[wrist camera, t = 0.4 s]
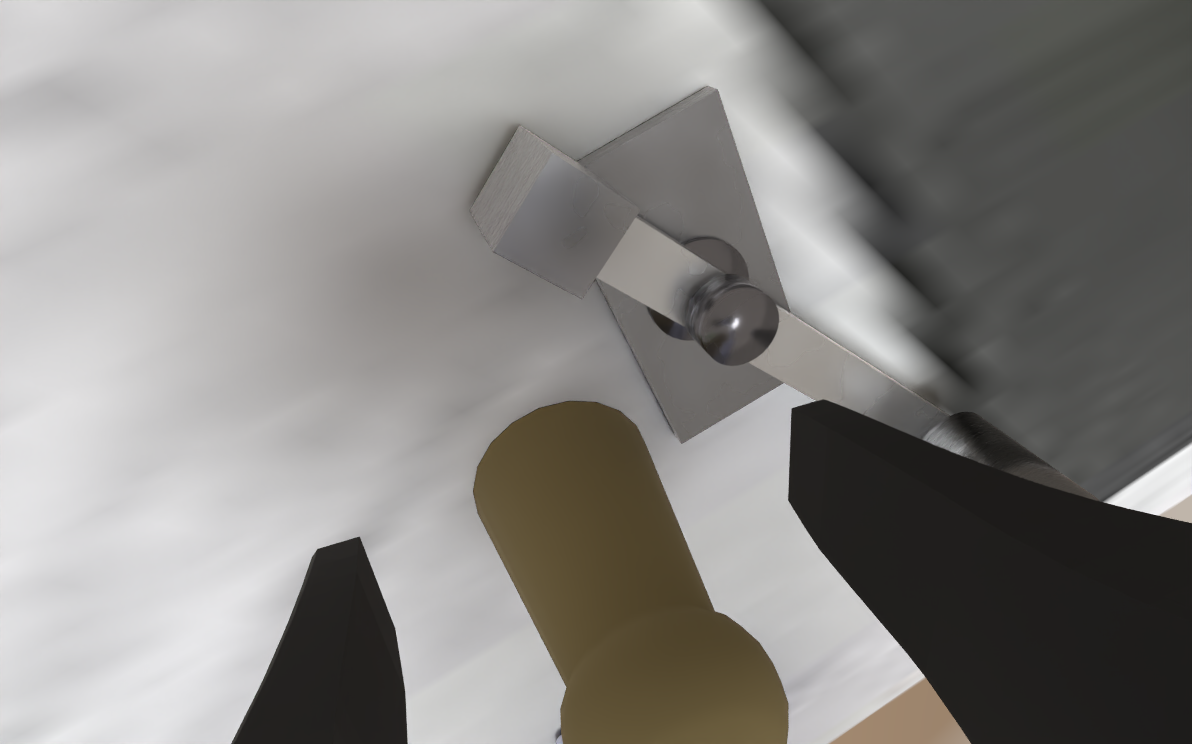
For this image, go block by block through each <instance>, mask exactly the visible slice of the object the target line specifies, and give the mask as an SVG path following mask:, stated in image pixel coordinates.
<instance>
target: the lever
mask: <svg viewBox="0 0 1192 744" xmlns="http://www.w3.org/2000/svg"><path fill="white" fill-rule="evenodd" d="M639 212H640V209H639V208H638V207H637V206H635V205H634V204H633V203H632V202H630V201H629V200H628V199H627V198H625V197H624V196H623V195H622V194H620V193H619V192H618V191H617V190H615V189H614V188H613V187H612V186H610V185H609V184H608V183H607V182H605V181H604V180H603V179H602V178H600V177H599V176H598V175H596V174H595V173H593V172H592V171H590V170H588V169H587V168H585V167H584V166H582V165H581V164H579V163H578V162H576V161H575V160H573V159H572V158H570V157H569V156H567V155H565V154H564V153H562V152H561V151H559V150H558V149H556V148H555V147H553V146H552V145H550V144H549V143H547V142H546V141H544V140H542V139H541V138H539V137H538V136H536V135H535V134H533V133H532V132H530V131H529V130H527V129H526V128H524V127H523V126H521V125H519V127H518V129H517V130H516V132H515V134H514V135H513V137H512V139H511V141H510V142H509V144H508V146H507V147H506V149H505V151H504V153H503V154H502V156H501V158H500V159H499V161H498V163H497V165H496V166H495V168H494V170H493V171H492V173H491V175H490V176H489V178H488V180H487V182H486V183H485V185H484V187H483V188H482V190H481V192H480V194H479V195H478V197H477V199H476V200H475V202H474V204H473V206H472V207H471V209H470V213H471V215H472V216H473V218H474V220H475V222H476V223H477V225H478V227H479V228H480V230H481V232H482V234H483V235H484V237H485V239H486V241H487V242H488V244H489V246H490V248H491V249H492V251H493V252H494V253H496V254H498V255H500V256H502V257H503V258H505V259H507V260H509V261H511V262H513V263H515V264H517V265H518V266H520V267H522V268H524V269H526V270H528V271H530V272H532V273H533V274H535V275H537V276H539V277H541V278H543V279H545V280H547V281H548V282H550V283H552V284H554V285H556V286H558V287H560V288H562V289H563V290H565V291H567V292H569V293H571V294H573V295H575V296H577V297H579V298H580V299H583V297H584V296H585V294H586V293H587V291H588V290H589V288H590V286H591V285H592V283H593V282H594V280H595V279H596V278H598V279H600V280H602V281H604V282H605V283H607V284H609V285H611V286H612V287H614V288H616V289H618V290H620V291H621V292H623V293H625V294H627V295H629V296H630V297H632V298H634V299H636V300H637V301H639V302H641V303H643V304H645V305H646V306H648V307H650V308H652V309H654V310H655V311H657V312H659V313H661V314H662V315H664V316H666V317H668V318H670V319H671V320H673V321H675V322H677V323H679V324H680V325H682V326H684V327H686V328H687V329H688V332H689V334H690V335H691V337H692V338H693V339H694V340H695V341H696V342H697V343H698V344H699V345H700V346H701V347H702V348H703V349H704V350H705V351H706V352H707V353H708V354H709V355H710V356H711V357H712V358H713V359H714V360H715V361H716V362H718V363H720V364H723V365H727V366H737V365H742V364H745V363H750V364H752V365H754V366H755V367H757V368H759V369H761V370H762V371H764V372H766V373H768V374H770V375H771V376H773V377H775V378H777V379H779V380H780V381H782V382H784V383H786V384H787V385H789V386H791V387H793V388H795V389H796V390H798V391H800V392H802V393H804V394H805V395H807V396H809V397H811V398H812V399H814V400H816V401H819V400H822V399H825V400H828V401H830V402H833V403H836V404H838V405H841V406H844V407H846V408H849V409H851V410H853V411H856V412H858V413H861V414H863V415H865V416H868V417H870V418H872V419H875V420H877V421H879V422H882V423H884V424H886V425H889V426H891V427H893V428H896V429H898V430H900V431H903V432H905V433H908V434H910V435H912V436H915V437H917V438H919V439H922V440H924V441H927V442H929V443H931V444H934V445H936V446H939V447H941V448H944V449H946V450H949V451H951V452H954V453H956V454H959V455H961V456H964V457H966V458H969V459H971V460H974V461H977V462H979V463H982V464H985V465H988V466H990V467H993V468H996V469H999V470H1001V471H1004V472H1007V473H1010V474H1013V475H1015V476H1018V477H1021V478H1024V479H1027V480H1030V481H1033V482H1036V483H1039V484H1042V485H1045V486H1048V487H1052V488H1055V489H1059V490H1062V491H1065V492H1069V493H1072V494H1076V495H1079V496H1082V497H1086V498H1089V499H1093V500H1096V501H1099V500H1098V499H1097V498H1096V497H1095V496H1093V495H1092V494H1090V493H1089V492H1087V491H1086V490H1085V489H1083V488H1082V487H1080V486H1079V485H1077V484H1076V483H1075V482H1073V481H1072V480H1070V479H1069V478H1067V477H1066V476H1065V475H1063V474H1062V473H1060V472H1059V471H1057V470H1056V469H1055V468H1053V467H1052V466H1050V465H1049V464H1047V463H1046V462H1045V461H1043V460H1042V459H1040V458H1039V457H1037V456H1036V455H1035V454H1033V453H1032V452H1030V451H1029V450H1027V449H1026V448H1025V447H1023V446H1022V445H1020V444H1019V443H1017V442H1016V441H1015V440H1013V439H1012V438H1010V437H1009V436H1007V435H1006V434H1005V433H1003V432H1002V431H1000V430H999V429H997V428H996V427H995V426H993V425H992V424H990V423H989V422H987V421H986V420H985V419H983V418H982V417H980V416H979V415H977V414H975V413H972V412H961V413H957V414H954V415H952V416H950V415H948V414H947V413H946V412H944V411H943V410H941V409H939V408H938V407H936V406H935V405H933V404H932V403H930V402H928V401H927V400H925V399H924V398H922V397H921V396H919V395H918V394H916V393H914V392H913V391H911V390H910V389H908V388H907V387H905V386H903V385H902V384H900V383H899V382H897V381H896V380H894V379H892V378H891V377H889V376H888V375H886V374H885V373H883V372H882V371H880V370H878V369H877V368H875V367H874V366H872V365H871V364H869V363H867V362H866V361H864V360H863V359H861V358H860V357H858V356H857V355H855V354H853V353H852V352H850V351H849V350H847V349H846V348H844V347H842V346H841V345H839V344H838V343H836V342H835V341H833V340H831V339H830V338H828V337H827V336H825V335H824V334H822V333H821V332H819V331H817V330H816V329H814V328H813V327H811V326H810V325H808V324H806V323H805V322H803V321H802V320H800V319H799V318H797V317H796V316H794V315H792V314H791V313H789V312H788V311H786V310H785V309H783V308H781V307H780V306H778V305H777V304H775V302H774V301H773V300H772V298H771V297H769V296H768V295H767V294H765V293H764V292H763V291H761V290H760V289H759V288H757V287H756V286H755V285H754V284H752V283H751V282H750V281H748V280H747V279H746V278H744V277H742V276H739V275H735V274H728V273H727V272H725V271H724V270H722V269H720V268H719V267H717V266H716V265H714V264H713V263H711V262H709V261H708V260H706V259H705V258H703V257H702V256H700V255H699V254H697V253H695V252H694V251H692V250H691V249H689V248H688V247H686V246H684V245H683V244H681V243H680V242H678V241H677V240H675V239H674V238H672V237H670V236H669V235H667V234H666V233H664V232H663V231H661V230H659V229H658V228H656V227H655V226H653V225H652V224H650V223H648V222H647V221H645V220H644V219H642V218H641V217H639V216H638V213H639Z"/></svg>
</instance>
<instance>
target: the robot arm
mask: <svg viewBox="0 0 1192 744" xmlns="http://www.w3.org/2000/svg"><path fill="white" fill-rule="evenodd" d="M788 501H789V502H790V504H791V506H792V507H793V509H794V510H795V512H796V514H797V515H798V517H799V519H800V520H801V522H802V523H803V525H804V527H805V528H806V530H807V531H808V533H809V534H810V536H811V537H812V539H813V540H814V542H815V543H816V545H817V546H818V548H819V549H820V551H821V552H822V553H823V554H824V555H825V557H826V558H827V559H828V560H829V562H830V563H831V564H832V565H833V566H834V568H835V569H836V570H837V571H838V572H839V574H840V575H841V576H842V577H843V578H844V580H845V581H846V582H847V583H848V584H849V586H850V587H851V588H852V589H853V590H854V591H855V593H856V594H857V595H858V596H859V597H860V598H861V600H862V601H863V602H864V603H865V604H866V606H867V607H868V608H869V609H870V610H871V611H872V613H873V614H874V615H875V616H876V617H877V618H878V620H879V621H880V622H881V623H882V624H883V626H884V627H885V628H886V629H887V630H888V631H889V633H890V634H891V635H892V636H893V637H894V638H895V640H896V641H897V642H898V643H899V644H900V646H901V647H902V648H903V649H904V650H905V651H906V653H907V654H908V655H909V656H910V658H911V659H912V660H913V662H914V663H915V664H916V665H917V667H918V668H919V669H920V670H921V672H922V673H923V674H924V676H925V677H926V678H927V680H928V681H929V683H930V684H931V685H932V687H933V688H934V690H935V691H936V693H937V694H938V696H939V697H940V699H941V700H942V701H943V703H944V704H945V706H946V707H947V709H948V710H949V712H950V713H951V714H952V716H953V717H954V719H955V720H956V722H957V723H958V724H959V726H960V727H961V729H962V730H963V732H964V733H965V735H966V736H967V738H968V739H969V741H970V743H971V744H1192V523H1188V522H1183V521H1179V520H1174V519H1170V518H1166V517H1161V516H1157V515H1153V514H1148V513H1144V512H1140V511H1135V510H1131V509H1127V508H1123V507H1119V506H1115V505H1111V504H1107V503H1103V502H1100V501H1096V500H1093V499H1089V498H1086V497H1082V496H1079V495H1076V494H1072V493H1069V492H1065V491H1062V490H1059V489H1055V488H1052V487H1048V486H1045V485H1042V484H1039V483H1036V482H1033V481H1030V480H1027V479H1024V478H1021V477H1018V476H1015V475H1013V474H1010V473H1007V472H1004V471H1001V470H999V469H996V468H993V467H990V466H988V465H985V464H982V463H979V462H977V461H974V460H971V459H969V458H966V457H964V456H961V455H959V454H956V453H954V452H951V451H949V450H946V449H944V448H941V447H939V446H936V445H934V444H931V443H929V442H927V441H924V440H922V439H919V438H917V437H915V436H912V435H910V434H908V433H905V432H903V431H900V430H898V429H896V428H893V427H891V426H889V425H886V424H884V423H882V422H879V421H877V420H875V419H872V418H870V417H868V416H865V415H863V414H861V413H858V412H856V411H853V410H851V409H849V408H846V407H844V406H841V405H838V404H836V403H833V402H830V401H828V400H825V399H822V400H819V401H815V402H812V403H808V404H805V405H802V406H798V407H795V408H792V414H791V440H790V467H789V494H788ZM231 744H408V743H407V721H406V699H405V688H404V681H403V675H402V668H401V662H400V656H399V649H398V643H397V637H396V631H395V627H394V625H393V622H392V619H391V617H390V614H389V612H388V609H387V606H386V604H385V601H384V599H383V596H382V593H381V591H380V588H379V586H378V583H377V580H376V578H375V575H374V573H373V570H372V567H371V565H370V562H369V560H368V557H367V555H366V552H365V549H364V547H363V544H362V542H361V539H360V537H357V538H353V539H350V540H347V541H343V542H340V543H336V544H333V545H330V546H326V547H323V548H320V549H317V551H316V552H315V554H314V555H313V557H312V559H311V562H310V565H309V568H308V571H307V574H306V576H305V579H304V582H303V585H302V588H301V590H300V593H299V596H298V598H297V601H296V604H295V606H294V609H293V611H292V614H291V616H290V619H289V621H288V624H287V626H286V629H285V631H284V633H283V636H282V638H281V640H280V642H279V645H278V647H277V649H276V652H275V654H274V656H273V659H272V661H271V663H270V665H269V668H268V670H267V672H266V675H265V677H264V679H263V681H262V683H261V685H260V687H259V689H258V691H257V693H256V695H255V697H254V699H253V701H252V703H251V705H250V707H249V709H248V711H247V713H246V715H245V717H244V719H243V721H242V723H241V725H240V727H239V729H238V731H237V733H236V735H235V737H234V739H233V741H232V743H231ZM556 744H563V741H562V735H560V736H559V737H558V738H557V740H556Z"/></svg>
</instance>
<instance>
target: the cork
mask: <svg viewBox="0 0 1192 744" xmlns="http://www.w3.org/2000/svg"><path fill="white" fill-rule="evenodd" d="M473 493H474V498H475V503H476V507H477V512H478V515H479V517H480V519H481V521H482V523H483V524H484V526H485V528H486V530H487V532H488V534H489V536H490V538H491V540H492V542H493V544H494V546H495V548H496V550H497V552H498V554H499V556H500V558H501V560H502V562H503V564H504V566H505V568H506V570H507V571H508V573H509V575H510V577H511V579H512V581H513V583H514V585H515V587H516V589H517V591H518V593H519V595H520V597H521V599H522V601H523V603H524V605H525V607H526V609H527V611H528V613H529V615H530V617H531V619H532V620H533V622H534V624H535V626H536V628H537V630H538V632H539V634H540V636H541V638H542V640H543V642H544V644H545V646H546V648H547V650H548V652H549V654H550V656H551V658H552V660H553V662H554V664H555V666H556V667H557V669H558V671H559V673H560V675H561V677H562V679H563V681H564V683H565V685H566V687H567V688H566V691H565V695H564V698H563V702H562V705H561V709H560V712H561V735H562V741H563V744H787V736H788V701H787V698H786V695H785V692H784V689H783V686H782V683H781V680H780V678H779V676H778V674H777V671H776V669H775V667H774V665H773V663H772V661H771V660H770V658H769V656H768V655H767V653H766V652H765V650H764V649H763V647H762V646H761V644H760V643H759V642H758V641H757V640H756V639H755V638H754V637H753V636H752V635H750V634H749V633H748V632H747V631H746V630H745V629H744V628H743V627H742V626H740V625H739V624H737V623H736V622H735V621H733V620H732V619H730V618H729V617H728V616H726V615H724V614H721V613H718V612H715V611H714V608H713V606H712V603H711V601H710V599H709V596H708V594H707V591H706V589H705V587H704V584H703V582H702V579H701V577H700V574H699V572H698V570H697V567H696V565H695V562H694V560H693V558H692V555H691V553H690V550H689V548H688V545H687V543H686V541H685V538H684V536H683V533H682V531H681V529H680V526H679V524H678V521H677V519H676V516H675V514H674V512H673V509H672V507H671V504H670V502H669V500H668V497H667V495H666V492H665V490H664V487H663V485H662V483H661V480H660V478H659V475H658V473H657V471H656V468H655V466H654V463H653V461H652V458H651V456H650V454H649V451H648V449H647V446H646V444H645V442H644V440H643V438H642V436H641V434H640V432H639V430H638V427H637V426H636V425H635V424H634V423H633V422H632V421H631V420H630V419H628V418H627V417H626V416H625V415H624V414H623V413H622V412H620V411H619V410H616V409H613V408H611V407H608V406H605V405H602V404H600V403H597V402H577V401H567V402H563V403H559V404H555V405H551V406H547V407H543V408H539V409H537V410H535V411H533V412H532V413H530V414H528V415H526V416H524V417H522V418H521V419H519V420H517V421H515V422H513V423H512V424H511V425H510V426H509V427H508V428H507V429H505V430H504V431H503V432H502V433H501V434H500V435H499V436H498V437H497V438H496V439H495V440H494V441H493V442H492V443H491V444H490V446H489V448H488V449H487V451H486V453H485V455H484V456H483V458H482V460H481V462H480V463H479V465H478V467H477V472H476V478H475V483H474V489H473Z"/></svg>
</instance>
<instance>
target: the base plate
mask: <svg viewBox="0 0 1192 744" xmlns="http://www.w3.org/2000/svg"><path fill="white" fill-rule="evenodd" d="M577 162H578V163H579V164H581V165H582V166H584V167H585V168H587V169H588V170H590V171H592V172H593V173H595V174H596V175H598V176H599V177H600V178H602V179H603V180H604V181H605V182H607V183H608V184H609V185H610V186H612V187H613V188H614V189H615V190H617V191H618V192H619V193H620V194H622V195H623V196H624V197H625V198H627V199H628V200H629V201H630V202H632V203H633V204H634V205H635V206H637V207H638V208H639V209H640V212H639V213H638V216H639V217H641V218H642V219H644V220H645V221H647V222H648V223H650V224H652V225H653V226H655V227H656V228H658V229H659V230H661V231H663V232H664V233H666V234H667V235H669V236H670V237H672V238H674V239H675V240H677V241H678V242H680V243H681V244H683V245H684V246H686V247H688V248H689V249H691V250H692V251H694V252H695V253H697V254H699V255H700V256H702V257H703V258H705V259H706V260H708V261H709V262H711V263H713V264H714V265H716V266H717V267H719V268H720V269H722V270H724V271H725V272H727V273H728V274H735V275H739V276H742V277H744V278H746V279H747V280H748V281H750V282H751V283H752V284H754V285H755V286H756V287H757V288H759V289H760V290H761V291H763V292H764V293H765V294H767V295H768V296H769V297H771V298H772V300H773V301H774V302H775V304H777V305H778V306H780V307H781V308H783V309H785V310H786V311H788V312H789V313H790V310H789V307H788V304H787V301H786V298H785V295H784V291H783V288H782V285H781V282H780V279H779V276H778V273H777V270H776V267H775V264H774V261H773V258H772V255H771V252H770V249H769V245H768V242H767V239H766V236H765V233H764V230H763V227H762V224H761V221H760V218H759V215H758V212H757V209H756V206H755V203H754V200H753V196H752V193H751V190H750V187H749V184H748V181H747V178H746V175H745V172H744V169H743V166H742V163H741V160H740V157H739V154H738V151H737V147H736V144H735V141H734V138H733V135H732V132H731V129H730V126H729V123H728V120H727V117H726V114H725V111H724V108H723V105H722V101H721V98H720V95H719V92H718V90H717V89H714V88H711V87H708V86H707V87H705V88H703V89H702V90H700V91H698V92H697V93H695V94H693V95H691V96H690V97H688V98H686V99H684V100H683V101H681V102H679V103H677V104H676V105H674V106H672V107H671V108H669V109H667V110H665V111H664V112H662V113H660V114H658V115H657V116H655V117H653V118H651V119H650V120H648V121H646V122H645V123H643V124H641V125H639V126H638V127H636V128H634V129H632V130H631V131H629V132H627V133H625V134H624V135H622V136H620V137H619V138H617V139H615V140H613V141H612V142H610V143H608V144H606V145H605V146H603V147H601V148H600V149H598V150H596V151H594V152H593V153H591V154H589V155H587V156H586V157H584V158H582V159H580V160H579V161H577ZM596 280H597V282H598V284H599V286H600V288H601V290H602V292H603V294H604V296H605V298H606V300H607V302H608V304H609V306H610V308H611V310H612V312H613V314H614V316H615V318H616V320H617V322H618V324H619V326H620V328H621V330H622V332H623V334H624V336H625V338H626V340H627V342H628V344H629V345H630V347H631V349H632V351H633V353H634V355H635V357H636V359H637V361H638V363H639V365H640V367H641V369H642V371H643V373H644V375H645V377H646V379H647V381H648V383H649V385H650V387H651V389H652V391H653V393H654V395H655V397H656V399H657V401H658V403H659V405H660V407H661V409H662V411H663V412H664V414H665V416H666V418H667V420H668V422H669V424H670V426H671V428H672V430H673V432H674V434H675V435H676V437H677V438H678V440H679V441H680V442H681V444H682V443H684V442H686V441H687V440H689V439H691V438H692V437H694V436H696V435H697V434H699V433H701V432H702V431H704V430H706V429H707V428H709V427H711V426H712V425H714V424H716V423H717V422H719V421H721V420H722V419H724V418H726V417H727V416H729V415H731V414H732V413H734V412H736V411H738V410H739V409H741V408H743V407H744V406H746V405H748V404H749V403H751V402H753V401H754V400H756V399H758V398H759V397H761V396H763V395H764V394H766V393H768V392H769V391H771V390H773V389H774V388H776V387H778V386H779V385H781V384H783V383H784V382H782V381H780V380H779V379H777V378H775V377H773V376H771V375H770V374H768V373H766V372H764V371H762V370H761V369H759V368H757V367H755V366H754V365H752V364H750V363H745V364H742V365H737V366H727V365H723V364H720V363H718V362H716V361H715V360H714V359H713V358H712V357H711V356H710V355H709V354H708V353H707V352H706V351H705V350H704V349H703V348H702V347H701V346H700V345H699V344H698V343H697V342H696V341H695V340H694V339H693V338H692V337H691V335H690V334H689V332H688V329H687V328H686V327H684V326H682V325H680V324H679V323H677V322H675V321H673V320H671V319H670V318H668V317H666V316H664V315H662V314H661V313H659V312H657V311H655V310H654V309H652V308H650V307H648V306H646V305H645V304H643V303H641V302H639V301H637V300H636V299H634V298H632V297H630V296H629V295H627V294H625V293H623V292H621V291H620V290H618V289H616V288H614V287H612V286H611V285H609V284H607V283H605V282H604V281H602V280H600V279H598V278H596Z"/></svg>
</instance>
